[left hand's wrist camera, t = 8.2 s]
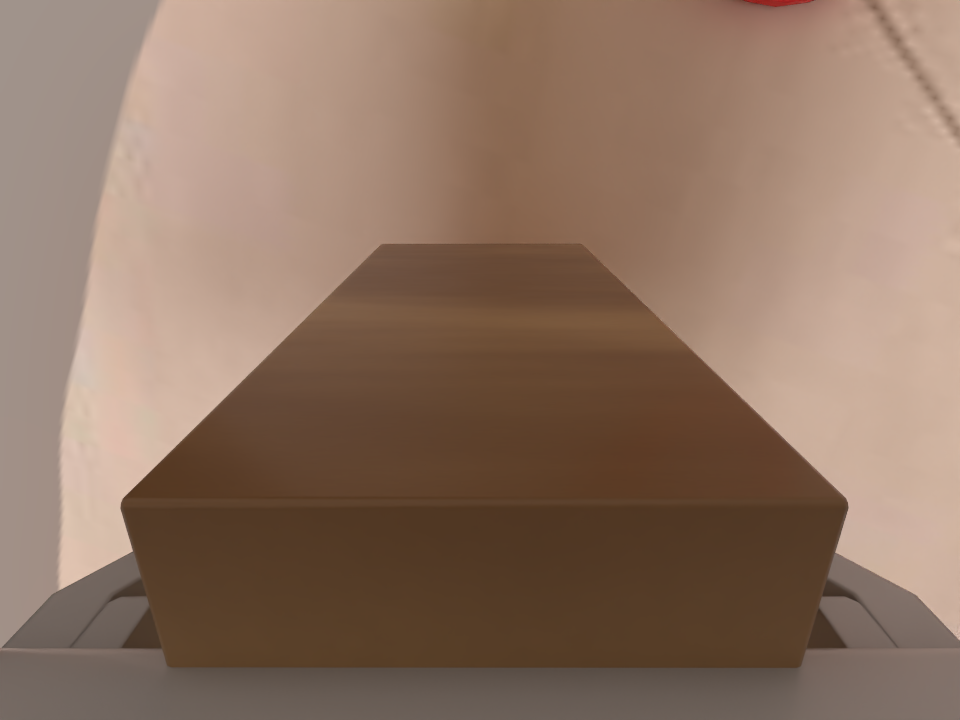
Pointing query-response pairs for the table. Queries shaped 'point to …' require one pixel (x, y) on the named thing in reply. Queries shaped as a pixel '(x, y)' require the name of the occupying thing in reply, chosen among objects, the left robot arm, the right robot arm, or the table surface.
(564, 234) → the table surface
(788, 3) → the tow hook
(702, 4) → the table surface
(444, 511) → the box
